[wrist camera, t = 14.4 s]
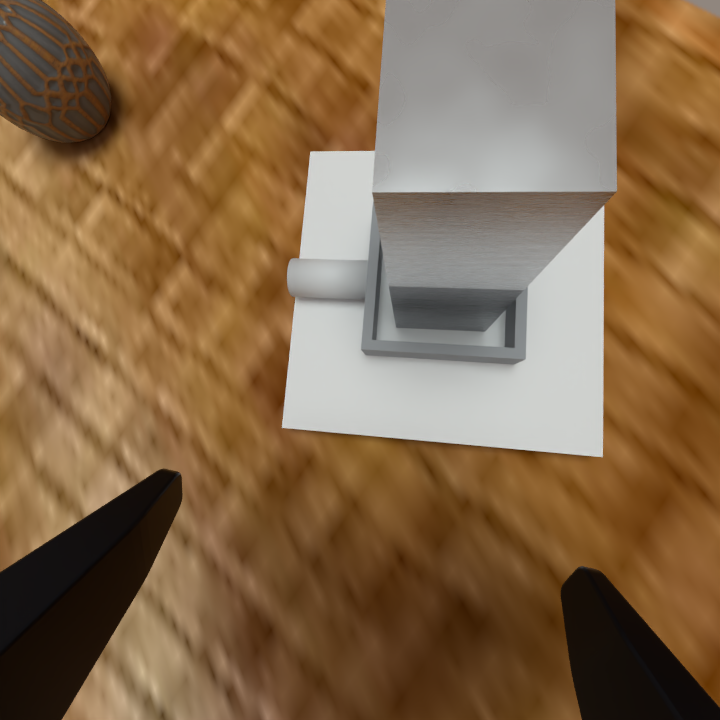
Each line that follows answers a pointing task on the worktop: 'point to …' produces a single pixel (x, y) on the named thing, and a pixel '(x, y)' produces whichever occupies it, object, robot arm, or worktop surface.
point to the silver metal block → (488, 148)
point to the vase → (49, 75)
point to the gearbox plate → (437, 339)
